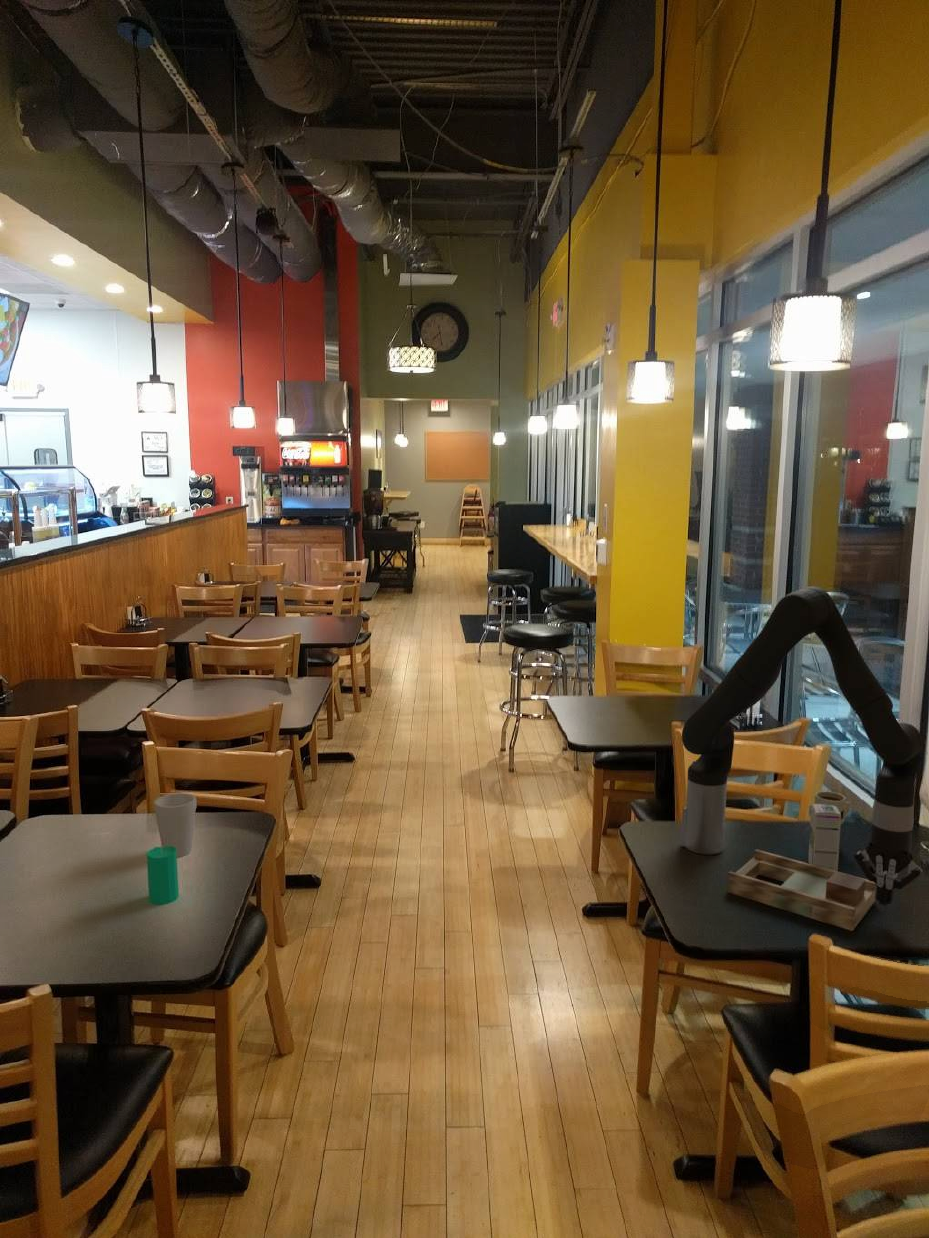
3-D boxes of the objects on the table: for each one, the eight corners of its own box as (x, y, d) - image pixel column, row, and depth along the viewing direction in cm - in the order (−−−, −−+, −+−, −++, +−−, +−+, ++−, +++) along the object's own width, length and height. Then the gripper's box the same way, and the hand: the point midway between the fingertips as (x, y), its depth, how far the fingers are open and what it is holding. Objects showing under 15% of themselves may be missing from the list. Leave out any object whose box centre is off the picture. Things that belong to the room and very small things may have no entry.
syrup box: (838, 874, 201) (843, 813, 199) (810, 871, 202) (815, 811, 200) (833, 863, 207) (837, 804, 204) (806, 861, 208) (810, 802, 205)
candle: (184, 893, 189) (182, 840, 187) (166, 906, 184) (164, 851, 182) (161, 889, 191) (158, 836, 189) (142, 901, 185) (139, 847, 184)
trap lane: (727, 892, 192) (728, 872, 191) (755, 867, 204) (756, 849, 204) (852, 931, 176) (854, 909, 175) (874, 901, 188) (876, 881, 187)
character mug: (815, 854, 212) (818, 802, 210) (798, 842, 219) (801, 792, 217) (855, 850, 214) (859, 799, 212) (837, 839, 221) (841, 789, 219)
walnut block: (825, 897, 184) (826, 881, 183) (834, 887, 188) (835, 871, 188) (855, 906, 180) (857, 890, 179) (864, 895, 184) (865, 879, 184)
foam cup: (206, 850, 211) (204, 798, 209) (175, 863, 204) (172, 810, 202) (179, 841, 216) (177, 790, 214) (148, 854, 209) (145, 801, 207)
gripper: (851, 819, 178) (844, 900, 180) (923, 837, 169) (915, 921, 172) (862, 809, 183) (855, 887, 186) (932, 825, 175) (924, 907, 178)
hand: (884, 903), depth 179 cm, fingers closed
